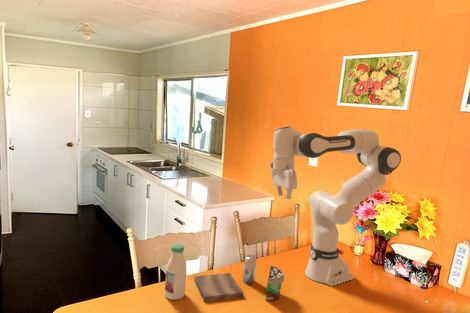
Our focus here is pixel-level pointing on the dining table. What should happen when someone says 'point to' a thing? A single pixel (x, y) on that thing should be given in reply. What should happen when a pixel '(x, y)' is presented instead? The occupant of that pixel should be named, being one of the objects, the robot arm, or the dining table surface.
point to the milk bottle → (176, 274)
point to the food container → (274, 283)
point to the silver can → (249, 269)
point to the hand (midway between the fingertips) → (284, 197)
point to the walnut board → (218, 287)
